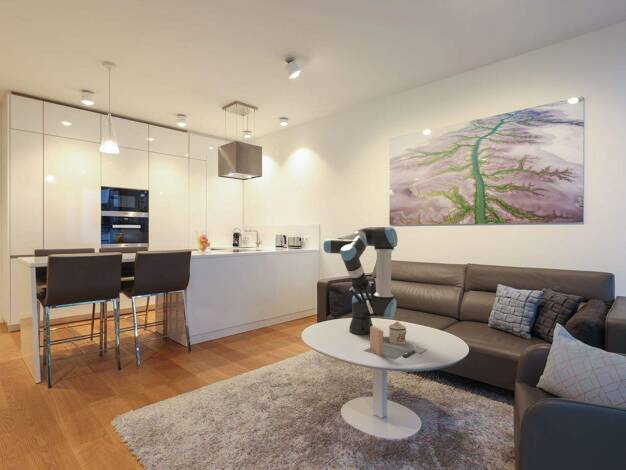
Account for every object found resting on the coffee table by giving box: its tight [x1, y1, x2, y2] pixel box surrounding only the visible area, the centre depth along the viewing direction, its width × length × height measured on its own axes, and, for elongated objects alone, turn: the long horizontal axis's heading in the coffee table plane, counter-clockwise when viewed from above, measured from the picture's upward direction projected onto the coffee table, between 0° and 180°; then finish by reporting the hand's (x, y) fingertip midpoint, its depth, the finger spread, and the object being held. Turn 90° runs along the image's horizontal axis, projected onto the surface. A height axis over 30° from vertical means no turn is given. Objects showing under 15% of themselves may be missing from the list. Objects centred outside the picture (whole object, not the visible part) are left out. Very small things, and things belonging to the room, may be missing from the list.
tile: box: [369, 325, 384, 356], centre depth 177 cm, size 3×9×12 cm, turn 18°
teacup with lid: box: [388, 321, 407, 345], centre depth 195 cm, size 12×9×12 cm
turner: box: [402, 346, 428, 359], centre depth 177 cm, size 20×6×2 cm, turn 138°
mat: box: [363, 343, 410, 360], centre depth 179 cm, size 18×16×1 cm
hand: (371, 311), depth 179 cm, fingers closed
